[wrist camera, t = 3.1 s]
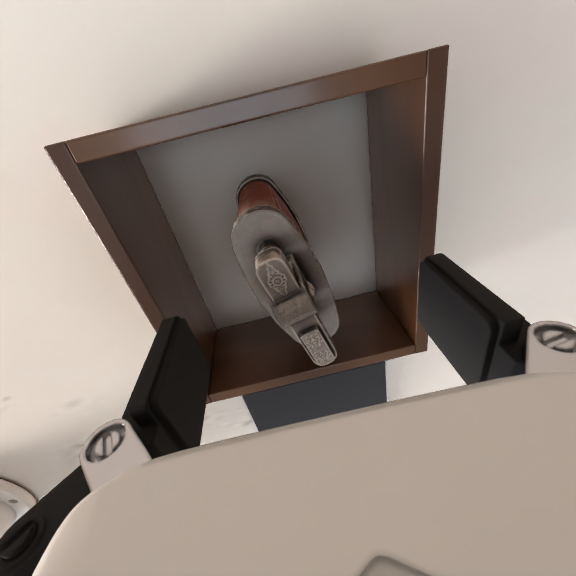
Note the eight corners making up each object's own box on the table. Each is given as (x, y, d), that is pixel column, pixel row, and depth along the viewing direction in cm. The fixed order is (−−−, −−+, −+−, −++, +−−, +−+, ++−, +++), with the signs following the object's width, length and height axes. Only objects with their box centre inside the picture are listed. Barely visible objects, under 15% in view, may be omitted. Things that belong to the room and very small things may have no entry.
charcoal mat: (285, 484, 39) (286, 489, 38) (242, 391, 28) (242, 396, 28) (387, 460, 39) (389, 465, 38) (382, 357, 28) (385, 361, 28)
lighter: (223, 190, 18) (203, 261, 10) (271, 163, 18) (292, 214, 9) (282, 285, 22) (303, 391, 14) (321, 265, 22) (368, 363, 13)
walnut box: (210, 338, 24) (200, 406, 19) (112, 133, 16) (42, 147, 10) (386, 295, 24) (427, 350, 19) (379, 66, 16) (449, 44, 10)
